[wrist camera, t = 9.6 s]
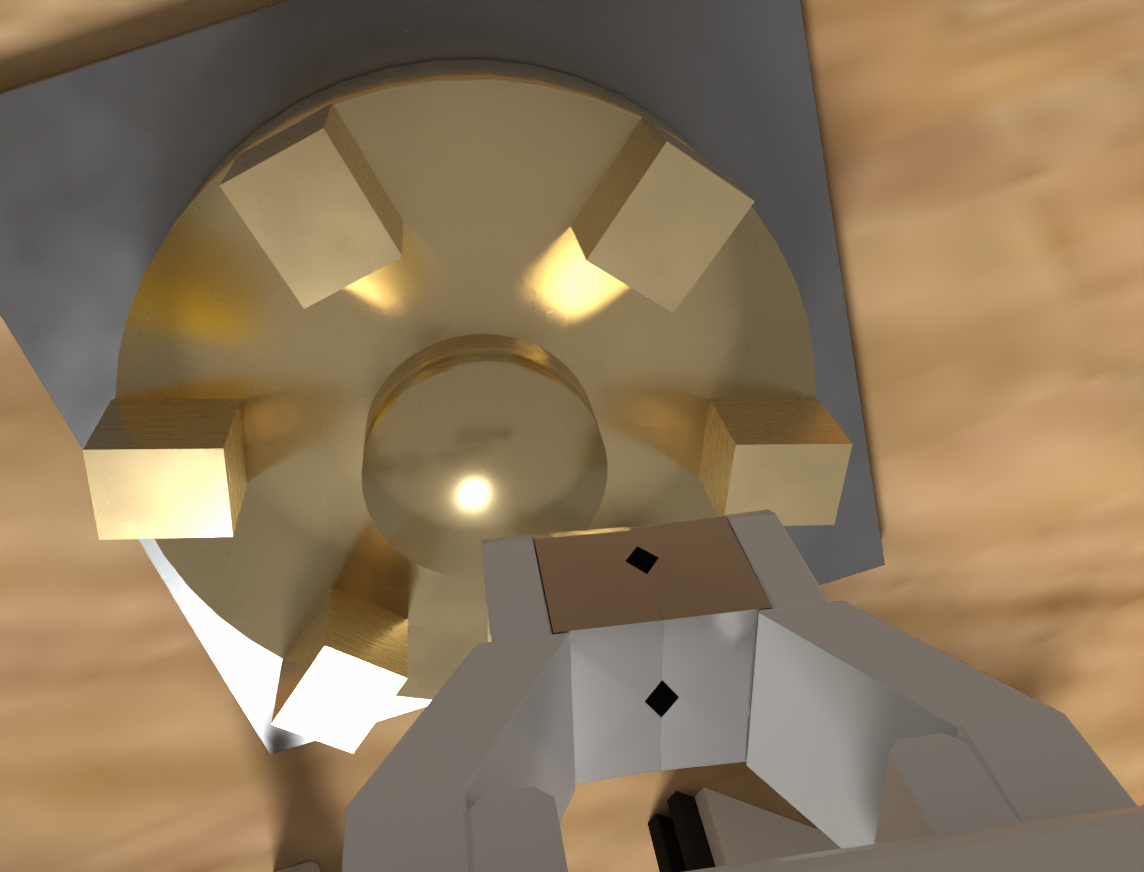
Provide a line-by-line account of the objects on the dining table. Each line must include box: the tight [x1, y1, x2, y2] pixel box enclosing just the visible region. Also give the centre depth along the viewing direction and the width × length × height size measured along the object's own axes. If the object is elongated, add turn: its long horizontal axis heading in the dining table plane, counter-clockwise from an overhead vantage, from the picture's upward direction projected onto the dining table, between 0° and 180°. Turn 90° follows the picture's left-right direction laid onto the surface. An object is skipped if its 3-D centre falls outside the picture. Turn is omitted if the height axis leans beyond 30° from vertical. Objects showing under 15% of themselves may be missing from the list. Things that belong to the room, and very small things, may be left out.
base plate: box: [0, 0, 885, 754], centre depth 30 cm, size 22×22×1 cm
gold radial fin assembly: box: [83, 59, 852, 753], centre depth 27 cm, size 18×18×6 cm
